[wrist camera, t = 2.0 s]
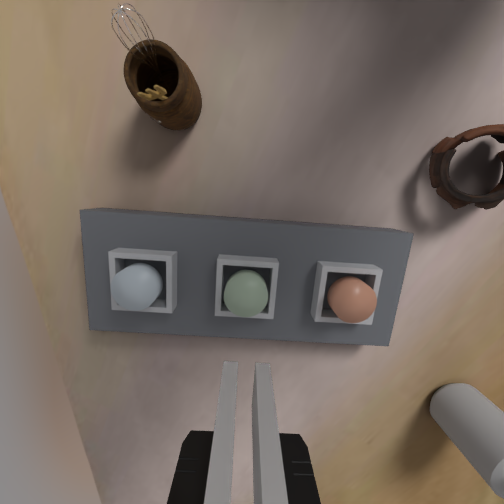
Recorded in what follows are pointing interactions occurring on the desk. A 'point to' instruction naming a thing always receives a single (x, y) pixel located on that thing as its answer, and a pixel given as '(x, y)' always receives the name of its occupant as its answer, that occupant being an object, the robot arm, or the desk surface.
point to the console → (235, 259)
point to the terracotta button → (351, 299)
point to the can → (473, 429)
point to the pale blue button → (136, 286)
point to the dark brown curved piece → (442, 162)
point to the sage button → (246, 293)
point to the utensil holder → (161, 82)
